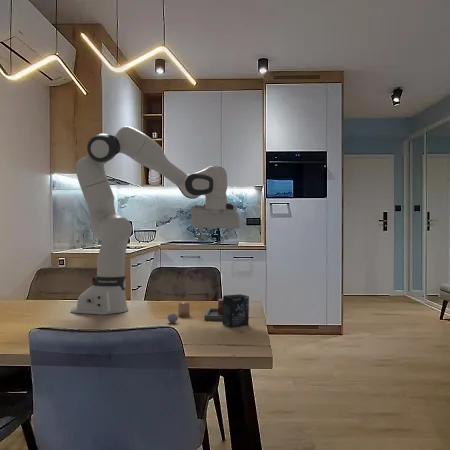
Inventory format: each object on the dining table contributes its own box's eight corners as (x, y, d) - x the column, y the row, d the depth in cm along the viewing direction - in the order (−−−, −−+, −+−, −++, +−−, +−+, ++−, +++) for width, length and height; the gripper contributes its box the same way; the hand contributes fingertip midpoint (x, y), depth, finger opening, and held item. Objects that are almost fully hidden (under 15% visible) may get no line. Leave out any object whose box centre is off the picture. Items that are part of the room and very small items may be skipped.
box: (231, 327, 181) (231, 297, 181) (222, 324, 186) (222, 295, 186) (249, 325, 186) (249, 295, 186) (240, 322, 190) (240, 293, 190)
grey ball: (166, 323, 187) (166, 313, 187) (168, 321, 190) (168, 311, 190) (176, 323, 186) (176, 313, 186) (178, 321, 190) (178, 312, 190)
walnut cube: (218, 316, 199) (218, 300, 199) (218, 313, 204) (219, 298, 204) (229, 316, 199) (229, 300, 199) (230, 314, 203) (230, 298, 203)
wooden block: (177, 316, 201) (177, 303, 201) (179, 314, 206) (179, 301, 205) (188, 316, 201) (188, 303, 201) (190, 314, 205) (190, 301, 205)
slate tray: (204, 320, 194) (204, 315, 194) (208, 312, 210) (208, 308, 210) (241, 321, 193) (241, 316, 193) (243, 313, 209) (243, 308, 209)
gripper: (189, 204, 211) (188, 238, 211) (240, 206, 209) (239, 240, 209) (192, 205, 217) (190, 238, 217) (240, 206, 215) (239, 239, 215)
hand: (214, 239), depth 213 cm, fingers open, 8 cm apart
